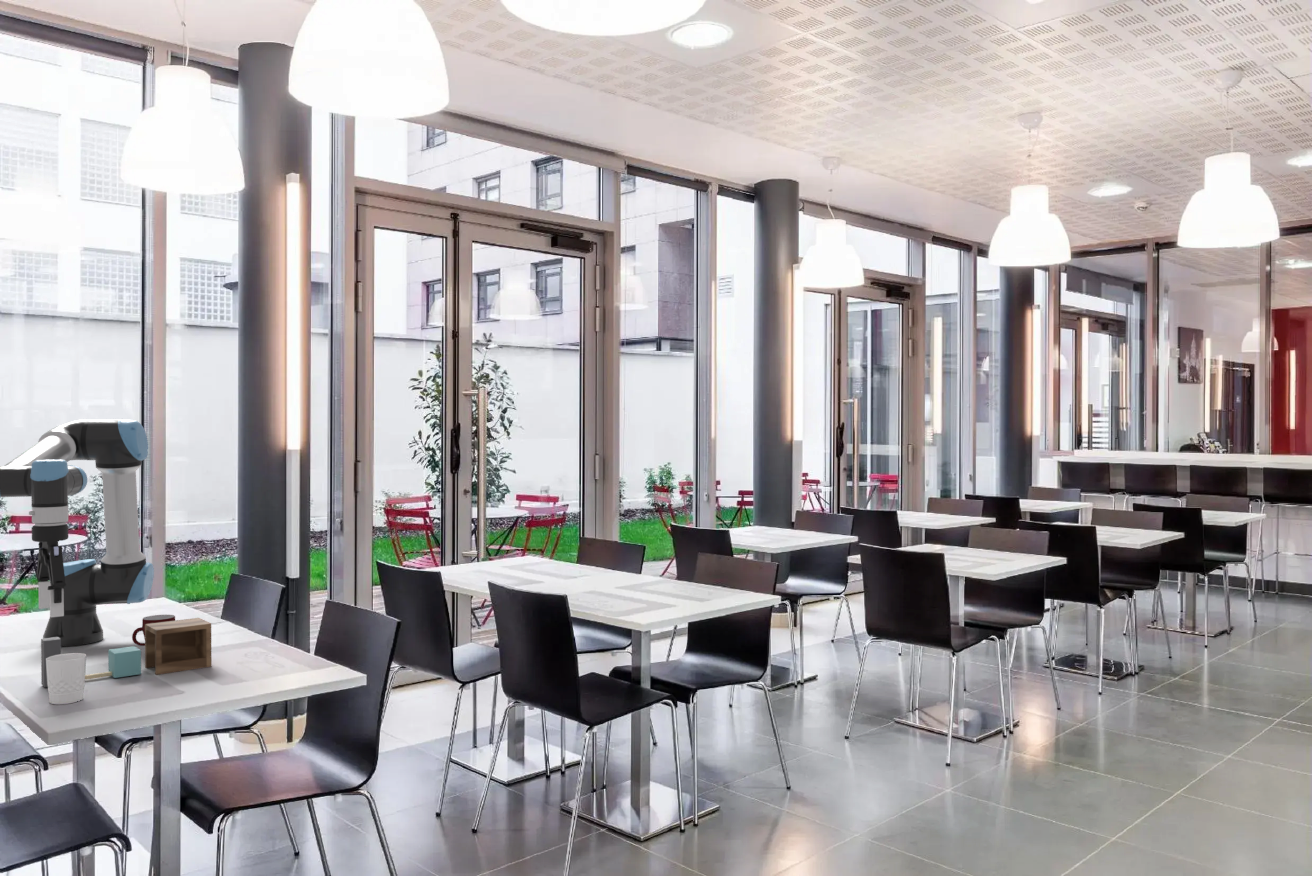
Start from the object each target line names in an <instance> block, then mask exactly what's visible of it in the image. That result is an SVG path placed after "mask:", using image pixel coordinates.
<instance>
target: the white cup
mask: <svg viewBox="0 0 1312 876" xmlns="http://www.w3.org/2000/svg"><path fill="white" fill-rule="evenodd" d="M86 667H87V654H86V653H84V652H83V653H82V652H81V653H80V652H69V653H61V654H59V655H54V656H50V657H48V658H46V669H47V685H48V687H47V692H48V699H49V702H48V703H49V704H52V705H67V704H72V703H77V701H78V702H80V700H81V701H82V700H84V694H85V693H84V691H85V682H86V680H85V675H86V674H87V673H86V671H87V670H86V669H87V668H86Z"/></svg>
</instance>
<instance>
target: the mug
mask: <svg viewBox="0 0 1312 876" xmlns="http://www.w3.org/2000/svg"><path fill="white" fill-rule="evenodd" d="M141 620H142V624H141V627H138V628H136V629H135V630H134V631H133V633H132V634H131V638H132V642H133V644H135V645H137V646H139V647H145V642H139V641H138V640H137V634H138V633H139V632H142V634H143V639H144V640H145V624H150V623H159V622H167V621H175V620H176V615H174V614H155V615H154V614H153V615H149V616H144V617H143V618H142V619H141Z"/></svg>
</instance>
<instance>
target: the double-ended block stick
mask: <svg viewBox="0 0 1312 876" xmlns="http://www.w3.org/2000/svg"><path fill="white" fill-rule="evenodd" d="M40 647H41V648H40V649H41V650H40V653H41V654H40V656H41V657H40V659H41V661H40V662H41V664H40V665H41V668H40V669H41V672H40V673H41V676H40V677H41V678H40V679H41V682H40V683H41V686H42V687H43V688H48V685H47V669H46V658H48V657H50V656H54V655H59V654H62V646H61V639H60V638H59V637H52V638H44V639H43V638H41V639H40ZM107 653H108V659H107V660H108V662H107V663H108V671H105V672H97V673H91V674H90V673H89V674H85V681H87V680H91V679H99V678H100V679H101V678H104V677H112V678H114V679H117V678H123V677H124V678H125V677H129V676H130V677H131V676H137V675H141V674H142V650H141V649H140V648H138V647H136V646H135V645H134V646H125V647H118V648H111V649H108V652H107Z"/></svg>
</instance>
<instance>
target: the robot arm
mask: <svg viewBox="0 0 1312 876" xmlns="http://www.w3.org/2000/svg"><path fill="white" fill-rule="evenodd" d="M147 437H148V435H147V433H146V431H145V428H144V427H143V425H142V424H141V423H140V421H138V420H135V419H123V418H115V419H114V418H113V419H111V418H110V419H107V418H106V419H87V418H86V419H78V420H77V419H76V420H72V421H68V422H65V423H63V424H60V425H58V426H56V427H54V428H51V429H49V430H47V431H46V432H45V433H43V434H42V435H41V436H40V437H39V439H38V440H37V443H35V444H34V445H32V446H31V447H29V448H28V449H27V450H25V451H24V452H23V453H20V454H19V455H17V457H15V458H13V459H11V460H10V461H9V462H7V463H6V464H4V465H3V466H0V498H18V497H19V498H20V497H21V498H22V497H23V498H24V497H30V498H31V499H30V500H31V506H30V507H31V511H28V515H29V516H31V523H33V525H32V527H31V540H32V541H33V542H34V543H35V542H36V543H38V556H37V565H36V566H37V567H36V575H35V577H36V578H37V581H38V585H37V586H38V609H39V610H42V609H49V618H48V621H47V625H46V627H45V629H44V632H43V635H42V639H44V638H52V637H59V638H60V639H61V647H73V646H81V645H88V644H92V643H93V644H94V643H98V642H99V641H102V640H103V639H104V629H103V627H102V624H101V622H100V619H99V616H98V614H97V605H114V604H115V605H116V604H117V605H120V604H122V605H123V604H127V605H130V604H139V603H143V602H145V601H146V600H147V599H148V597H149V596H150V594H151V590H152V588H153V583H154V578H155V570H154V569H155V568H154V564H153V563H151V562H148V561H147V555H146V554H144V553H143V552H142V551H141V550H140V533H139V528H140V527H139V513H138V509H139V508H138V507H139V506H138V491H137V490H138V489H137V488H138V487H137V471H138V469H139V468H141V466H142V461H143V460H146V459H147V457H148V455H149V451H148V450H149V443H148V442H149V441H148V438H147ZM69 461H94V463H95V468H96V469H97V470H98V471H99V472H100V473H101V475H102V494H103V495H102V496H103V513H104V532H105V551H106V553H105V555H104V556H103V557H102V558H101V559H100V563H98V564H97V560H96V559H94V558H91V559H90V558H88V559H87V558H86V559H80V560H74V561H68V562H64V558H63V550H64V549H63V546H62V545H59V542H60V541H66V540H68V539H69V525H68V524H67V523H68V522H69V496H70V497H72V496H76V495H77V494H80V493H81V492H83V491H84V489H85V488H86V487H87V485H88V476H87V473H86V472H85V470H84V469H83V468H81V467H79V466H77V465H72V464H71V465H69V464H68V462H69Z"/></svg>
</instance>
